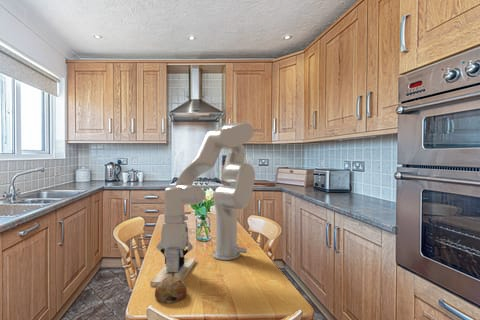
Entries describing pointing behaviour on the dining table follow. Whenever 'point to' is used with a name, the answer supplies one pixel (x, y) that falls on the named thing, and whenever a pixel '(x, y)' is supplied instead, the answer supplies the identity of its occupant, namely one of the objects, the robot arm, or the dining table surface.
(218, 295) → the dining table surface
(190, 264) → the board
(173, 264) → the medicine box
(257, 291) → the dining table surface
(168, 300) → the bread roll
